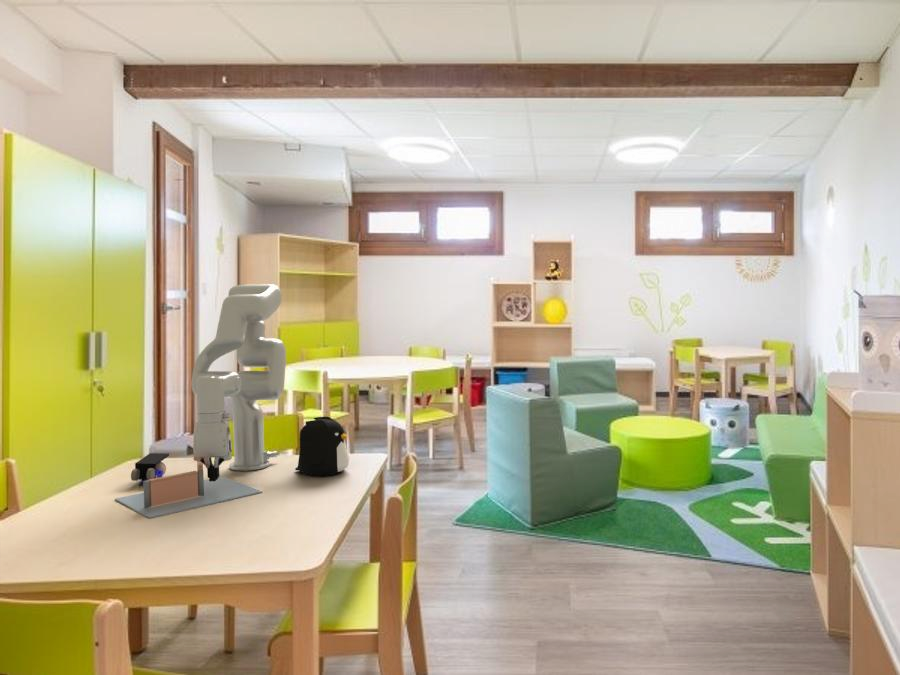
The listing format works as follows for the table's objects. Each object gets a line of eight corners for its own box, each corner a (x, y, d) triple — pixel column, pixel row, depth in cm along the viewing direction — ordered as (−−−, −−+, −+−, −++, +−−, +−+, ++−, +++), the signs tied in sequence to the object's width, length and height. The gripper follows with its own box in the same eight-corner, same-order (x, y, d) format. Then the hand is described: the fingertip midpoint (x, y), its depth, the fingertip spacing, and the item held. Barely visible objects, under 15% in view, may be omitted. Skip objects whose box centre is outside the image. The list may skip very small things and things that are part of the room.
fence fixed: (202, 495, 201) (201, 469, 200) (205, 496, 200) (204, 470, 199) (143, 508, 189) (142, 480, 189) (145, 509, 188) (144, 481, 188)
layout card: (222, 477, 220) (222, 476, 220) (262, 492, 203) (262, 490, 203) (114, 499, 198) (114, 498, 198) (149, 518, 181) (149, 516, 181)
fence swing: (203, 492, 201) (203, 469, 200) (198, 492, 200) (197, 469, 200) (203, 482, 212) (202, 460, 212) (197, 482, 212) (197, 460, 211)
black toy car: (154, 492, 211) (171, 473, 226) (152, 467, 209) (169, 450, 224) (130, 492, 210) (150, 474, 225) (128, 468, 209) (148, 451, 224)
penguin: (339, 480, 215) (338, 423, 214) (283, 478, 218) (282, 422, 217) (357, 466, 233) (356, 413, 232) (305, 464, 236) (304, 413, 235)
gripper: (240, 415, 209) (242, 476, 211) (189, 416, 209) (191, 477, 210) (233, 419, 202) (236, 483, 203) (180, 420, 201) (183, 484, 203)
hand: (213, 480), depth 207 cm, fingers closed
